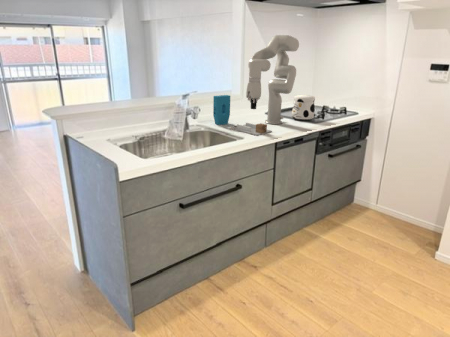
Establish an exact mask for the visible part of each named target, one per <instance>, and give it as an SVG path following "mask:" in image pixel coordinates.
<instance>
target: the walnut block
mask: <svg viewBox="0 0 450 337" xmlns="http://www.w3.org/2000/svg"><path fill="white" fill-rule="evenodd" d="M255 124H256V123H255ZM267 126H268V124H267V123H262V122H261V123H257V124H256V132H258V133H265V132H266V131H267V130H268V129H267V128H268V127H267Z"/></svg>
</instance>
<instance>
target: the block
mask: <svg viewBox="0 0 450 337" xmlns="http://www.w3.org/2000/svg"><path fill="white" fill-rule="evenodd" d="M212 103H213V106H212V107H213V108H212V109H213V112H212V113H213V119H214V124H215V125H218V126H221V125H222V126H223V125H228V124H229V120H230V116H231V95H229V94H223V95H221V94H220V95H213V102H212Z"/></svg>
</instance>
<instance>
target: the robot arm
mask: <svg viewBox="0 0 450 337" xmlns="http://www.w3.org/2000/svg"><path fill="white" fill-rule="evenodd" d="M299 47H300V43H299V39H298V38H296V37H294V36H291V35H286V34H285V35H284V34H283V35H281V34H279V35H277V34H276V35H274V36H272V38H271V39H270V40H269V42H268V44H267V45H266V46H265V47H264V48H262V49H260V50H258V51H256V52H255V53H254V54H253V55H252V56H251V58H250V60H249V62H248V69H249V70H248V72H249V73H248V82H247V86H246V93H245V94H246V96H245V97H246V99H247V101H249V102H250V109H251V110H257V103H258V100H260V99H261V96H262V82H261V81H262V80H261V79H262V72H263V73H264V72H268V71H269V70H270V69H271V61H270V59H273V58H275V57H276V56H277V59H276V63H275V66H274V71H273V76H274V77H275V79H271V80H269V82H268V86H267V87H268V105H267V107H268V108H267V119H265V120H264V121H265V123H264V124H267V125H268V124H269V125H281V124H282V123H283V121H282V120H283V119H284V116H282V114H281V112H282V102H283V98H282V96H281V94H284V95H288V94H290V93H292V91H293V88H294V85H295V84H294V83H295V81H296V76H297V68H296V66H295V65H292V64H291V65H290V64H289V63H290V57H289V55H288V54H287V52H296V51H298V50H299Z"/></svg>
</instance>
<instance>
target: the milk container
mask: <svg viewBox="0 0 450 337" xmlns="http://www.w3.org/2000/svg"><path fill="white" fill-rule="evenodd" d="M315 100H316V98H315V96H313V95H305V94H302V95H301V94H299V95H294V97H293V107H292V111H291V117H292V119H294V120H295V121H296V120H297V121H305V122H306V121H310V120H309V119H311V120H313V119H314V117H315V109H314V108H315V107H314V106H315ZM312 118H313V119H312Z"/></svg>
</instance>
